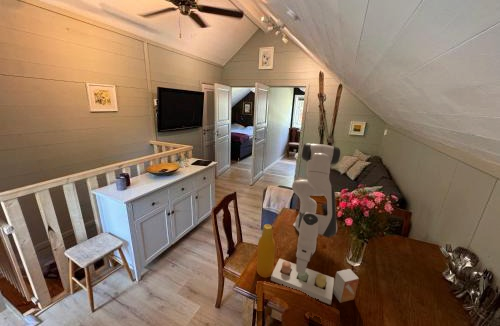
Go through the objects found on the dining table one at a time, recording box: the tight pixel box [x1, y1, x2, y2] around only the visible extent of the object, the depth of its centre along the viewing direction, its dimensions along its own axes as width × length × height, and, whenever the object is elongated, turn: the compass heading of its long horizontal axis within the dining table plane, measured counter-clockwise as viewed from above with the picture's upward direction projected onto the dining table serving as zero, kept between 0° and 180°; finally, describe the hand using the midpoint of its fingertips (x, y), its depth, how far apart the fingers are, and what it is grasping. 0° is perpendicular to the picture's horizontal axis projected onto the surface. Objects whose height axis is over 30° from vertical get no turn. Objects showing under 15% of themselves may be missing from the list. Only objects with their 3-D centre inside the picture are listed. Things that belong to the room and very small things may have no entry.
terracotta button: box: [281, 260, 291, 276], centre depth 113 cm, size 5×5×4 cm
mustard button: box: [315, 273, 326, 289], centre depth 105 cm, size 5×5×4 cm
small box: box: [332, 268, 360, 304], centre depth 101 cm, size 8×6×13 cm
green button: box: [297, 271, 308, 283], centre depth 110 cm, size 5×5×4 cm
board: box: [270, 258, 335, 306], centre depth 110 cm, size 14×30×3 cm, turn 64°
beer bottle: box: [256, 223, 276, 279], centre depth 112 cm, size 9×9×29 cm
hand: (303, 267), depth 108 cm, fingers closed
